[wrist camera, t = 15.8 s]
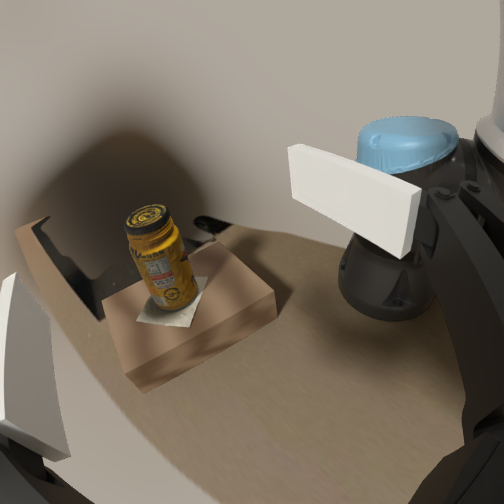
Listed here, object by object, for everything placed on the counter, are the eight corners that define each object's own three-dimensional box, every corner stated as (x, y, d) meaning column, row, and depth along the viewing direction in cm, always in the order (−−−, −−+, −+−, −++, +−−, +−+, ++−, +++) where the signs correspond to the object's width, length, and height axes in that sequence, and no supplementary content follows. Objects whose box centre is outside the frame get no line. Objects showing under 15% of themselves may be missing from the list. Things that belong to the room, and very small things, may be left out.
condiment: (208, 277, 39) (184, 197, 31) (189, 328, 32) (152, 243, 25) (160, 276, 40) (130, 202, 33) (137, 322, 34) (93, 245, 26)
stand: (225, 266, 48) (219, 241, 45) (277, 317, 38) (274, 290, 35) (116, 323, 40) (101, 300, 37) (143, 393, 31) (124, 373, 28)
